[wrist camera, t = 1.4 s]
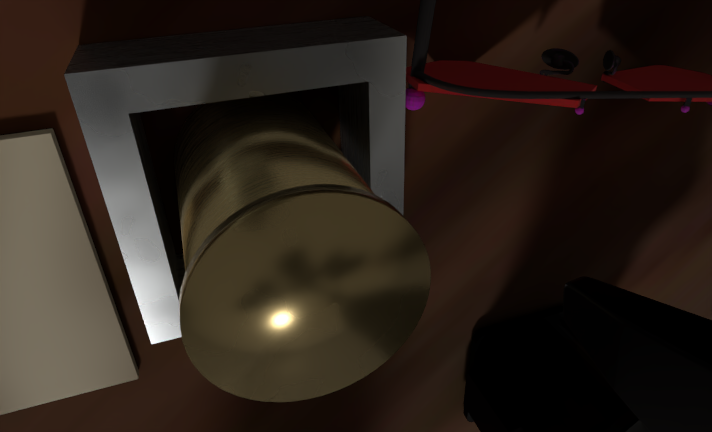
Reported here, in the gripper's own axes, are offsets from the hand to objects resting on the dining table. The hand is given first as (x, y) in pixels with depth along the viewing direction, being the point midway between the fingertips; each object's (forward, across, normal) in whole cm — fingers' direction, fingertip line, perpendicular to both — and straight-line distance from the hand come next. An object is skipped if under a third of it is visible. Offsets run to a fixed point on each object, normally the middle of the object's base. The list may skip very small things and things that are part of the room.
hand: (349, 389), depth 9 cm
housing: (+10, 0, 0) cm, 10 cm away
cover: (+10, 0, 0) cm, 10 cm away
